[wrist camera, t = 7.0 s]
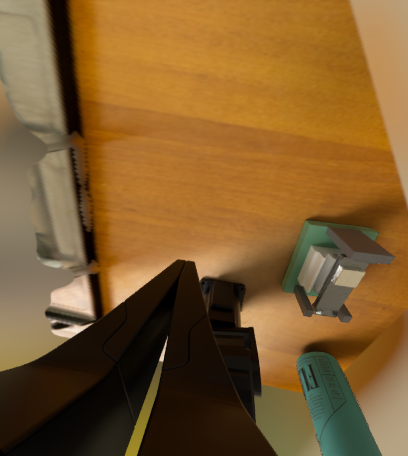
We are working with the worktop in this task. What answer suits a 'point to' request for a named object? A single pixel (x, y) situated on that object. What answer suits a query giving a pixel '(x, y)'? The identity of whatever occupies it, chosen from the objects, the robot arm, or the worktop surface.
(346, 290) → the strap
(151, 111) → the worktop surface
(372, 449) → the beverage bottle
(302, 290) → the board
